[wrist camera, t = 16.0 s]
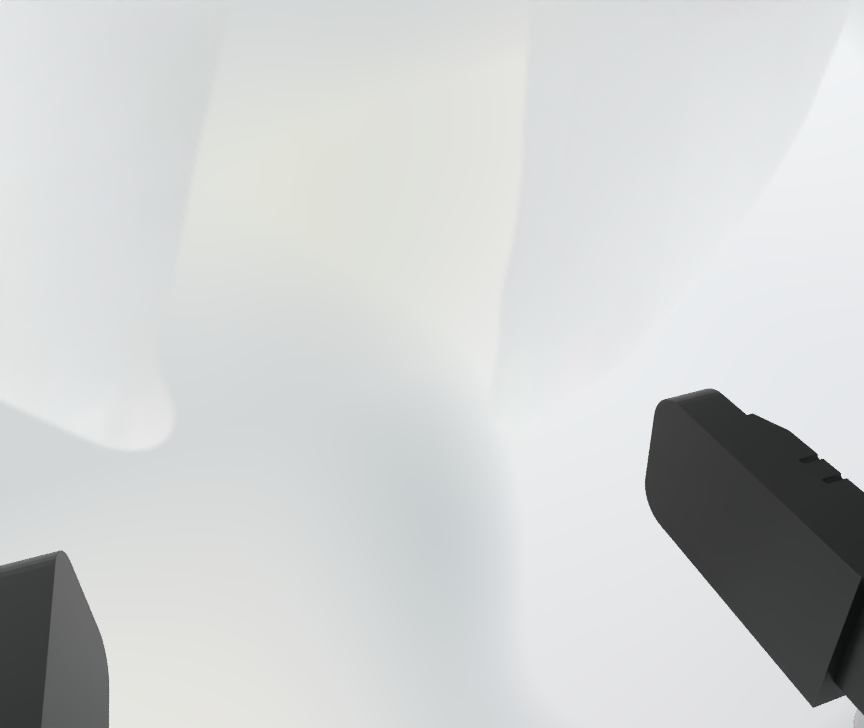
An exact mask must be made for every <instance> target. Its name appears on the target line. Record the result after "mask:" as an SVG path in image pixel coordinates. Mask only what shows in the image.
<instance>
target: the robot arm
mask: <svg viewBox="0 0 864 728" xmlns="http://www.w3.org/2000/svg"><path fill="white" fill-rule="evenodd" d="M817 455H818V454H817V453H816V452H814V451H813V450H812V449H811V448H810V447H808V446H807V445H806V444H805V443H803V442H802V441H801V440H800V439H798V438H797V437H796V436H795V435H794V434H793V433H791V432H790V431H789V430H787V429H784V428H782V427H780V426H778V425H776V424H774V423H771V422H769V421H767V420H765V419H763V418H761V417H759V416H757V415H755V414H750V415H746V414H745V413H744V412H742V411H741V410H740V409H739V408H738V407H737V406H735V405H734V404H733V403H732V402H731V401H730V400H728V399H727V398H726V397H725V396H724V395H723V394H721V393H720V392H719V391H717V390H714V389H704V390H700V391H697V392H693V393H688V394H684V395H680V396H677V397H673V398H669V399H665V400H662V401H661V402H660V403H659V404H658V405H657V407H656V410H655V415H654V421H653V428H652V435H651V442H650V450H649V456H648V464H647V471H646V478H645V490H646V496H647V500H648V503H649V506H650V508H651V510H652V513H653V515H654V517H655V518H656V520H657V521H658V523H659V524H660V525H661V526H662V528H663V529H664V530H665V531H666V532H667V534H668V535H669V536H670V537H671V538H672V540H673V541H674V542H675V543H676V544H677V546H678V547H679V548H680V549H681V550H682V552H683V553H684V554H685V555H686V556H687V558H688V559H689V560H690V561H691V562H692V563H693V565H694V566H695V567H696V568H697V569H698V571H699V572H700V573H701V574H702V575H703V577H704V578H705V579H706V580H707V581H708V583H709V584H710V585H711V586H712V587H713V589H714V590H715V591H716V592H717V593H718V594H719V596H720V597H721V598H722V599H723V601H724V602H725V603H726V604H727V605H728V607H729V608H730V609H731V610H732V611H733V612H734V614H735V615H736V616H737V617H738V618H739V620H740V621H741V622H742V623H743V624H744V626H745V627H746V628H747V629H748V630H749V632H750V633H751V634H752V635H753V636H754V638H755V639H756V640H757V641H758V642H759V644H760V645H761V646H762V647H763V648H764V650H765V651H766V652H767V653H768V654H769V656H770V657H771V658H772V659H773V660H774V662H775V663H776V664H777V665H778V666H779V668H780V669H781V670H782V671H783V672H784V673H785V675H786V676H787V677H788V678H789V680H790V681H791V682H792V683H793V684H794V685H795V687H796V688H797V689H798V690H799V691H800V693H801V694H802V695H803V696H804V697H805V698H806V700H807V701H808V702H809V703H810V705H811V706H812V707H816V706H819V705H821V704H824V703H827V702H829V701H832V700H834V699H837V698H839V697H842V696H845V695H846V696H847V697H848V698H849V699H850V700H851V701H852V703H853V704H854V705H855V706H856V707H857V708H858V710H857V712H856V714H855V718H854V728H864V492H863V491H862V490H860V489H859V488H858V487H857V486H855V485H854V484H853V483H852V482H851V481H849V480H848V479H842V477H841V473H840V472H839V471H837V470H836V469H835V468H834V467H833V466H831V465H830V464H829V463H827V462H826V461H825V460H824V459H821V460H820V459H819V458H818V456H817ZM0 728H109V675H108V666H107V659H106V653H105V649H104V645H103V641H102V637H101V634H100V632H99V629H98V627H97V624H96V622H95V620H94V617H93V615H92V612H91V610H90V608H89V605H88V603H87V600H86V598H85V596H84V593H83V591H82V588H81V586H80V584H79V581H78V579H77V576H76V574H75V572H74V569H73V567H72V564H71V562H70V560H69V558H68V556H67V555H66V553H65V552H63V551H57V552H53V553H49V554H46V555H41V556H37V557H34V558H29V559H25V560H22V561H18V562H14V563H10V564H6V565H2V566H0Z"/></svg>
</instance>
